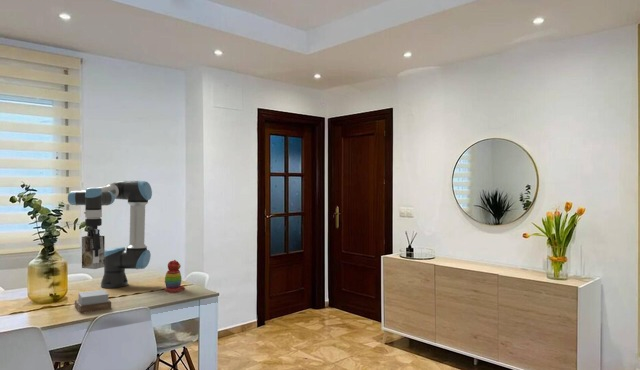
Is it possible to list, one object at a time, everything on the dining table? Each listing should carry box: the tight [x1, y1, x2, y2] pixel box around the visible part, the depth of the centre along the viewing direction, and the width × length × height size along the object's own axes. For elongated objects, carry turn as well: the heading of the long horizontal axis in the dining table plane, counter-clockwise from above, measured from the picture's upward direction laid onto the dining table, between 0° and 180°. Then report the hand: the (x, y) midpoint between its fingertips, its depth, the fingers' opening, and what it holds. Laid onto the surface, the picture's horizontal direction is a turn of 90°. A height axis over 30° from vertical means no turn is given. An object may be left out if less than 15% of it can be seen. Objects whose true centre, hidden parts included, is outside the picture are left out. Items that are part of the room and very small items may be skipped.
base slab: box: [74, 299, 112, 314], centre depth 227 cm, size 14×14×4 cm
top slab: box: [77, 288, 109, 305], centre depth 227 cm, size 12×12×4 cm
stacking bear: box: [164, 259, 186, 294], centre depth 264 cm, size 11×10×18 cm
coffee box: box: [81, 235, 106, 270], centre depth 227 cm, size 9×6×16 cm
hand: (93, 261), depth 227 cm, fingers closed on coffee box, 11 cm apart
